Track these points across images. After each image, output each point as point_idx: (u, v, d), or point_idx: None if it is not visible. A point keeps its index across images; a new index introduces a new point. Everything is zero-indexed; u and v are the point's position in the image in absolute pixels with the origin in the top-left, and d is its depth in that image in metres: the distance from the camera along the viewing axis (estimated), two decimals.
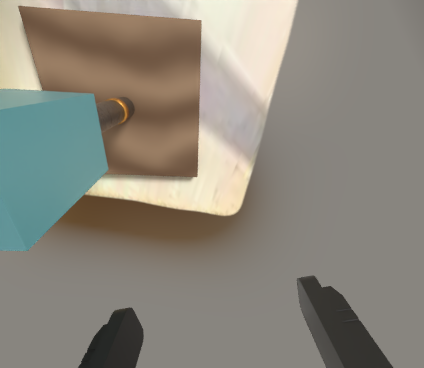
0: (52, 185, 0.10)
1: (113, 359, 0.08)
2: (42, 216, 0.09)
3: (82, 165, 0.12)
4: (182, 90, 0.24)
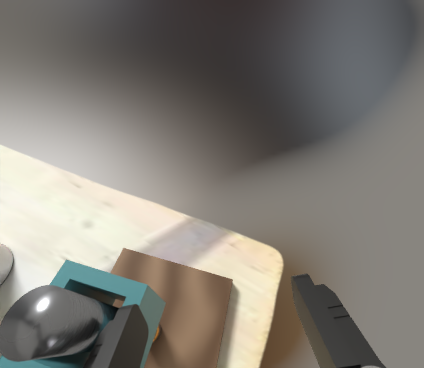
0: None
1: (120, 354, 0.08)
2: None
3: None
4: (157, 272, 0.31)
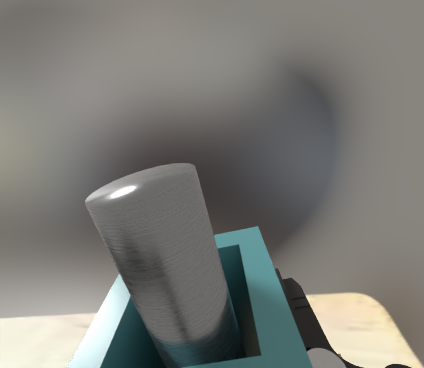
0: None
1: None
2: None
3: None
4: None
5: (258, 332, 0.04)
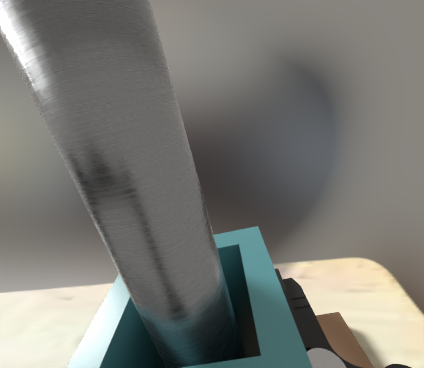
0: None
1: None
2: None
3: None
4: None
5: (258, 332, 0.04)
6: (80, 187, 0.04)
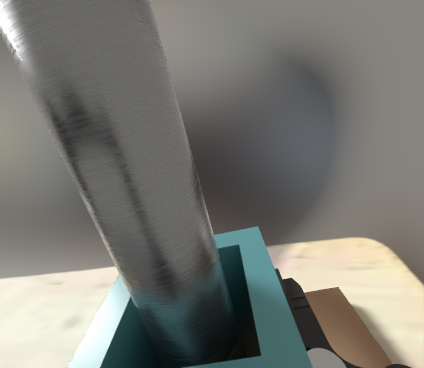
0: None
1: None
2: None
3: None
4: None
5: (258, 332, 0.04)
6: None
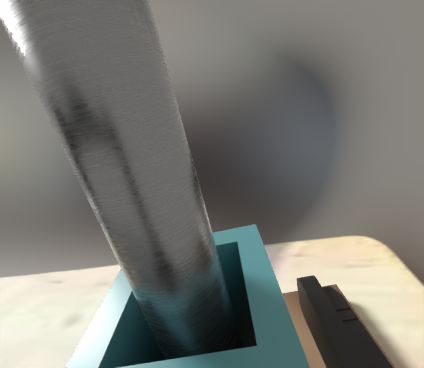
0: None
1: None
2: None
3: None
4: None
5: (254, 324, 0.05)
6: None
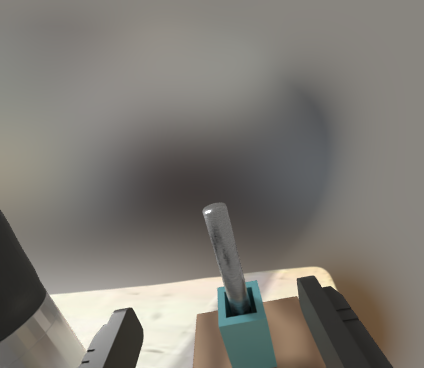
0: None
1: (113, 359, 0.08)
2: None
3: None
4: None
5: (256, 308, 0.23)
6: (220, 261, 0.21)
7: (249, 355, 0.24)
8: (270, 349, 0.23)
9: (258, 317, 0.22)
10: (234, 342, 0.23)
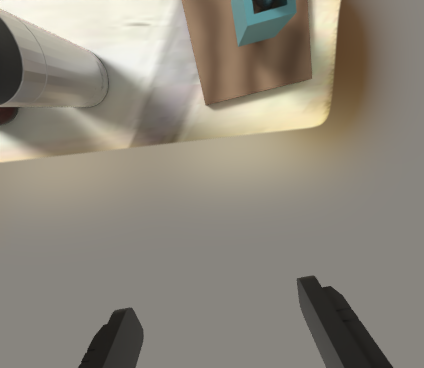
0: None
1: (113, 359, 0.08)
2: None
3: None
4: None
5: None
6: None
7: (258, 36, 0.27)
8: (278, 29, 0.26)
9: (288, 11, 0.21)
10: (253, 31, 0.24)
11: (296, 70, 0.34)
